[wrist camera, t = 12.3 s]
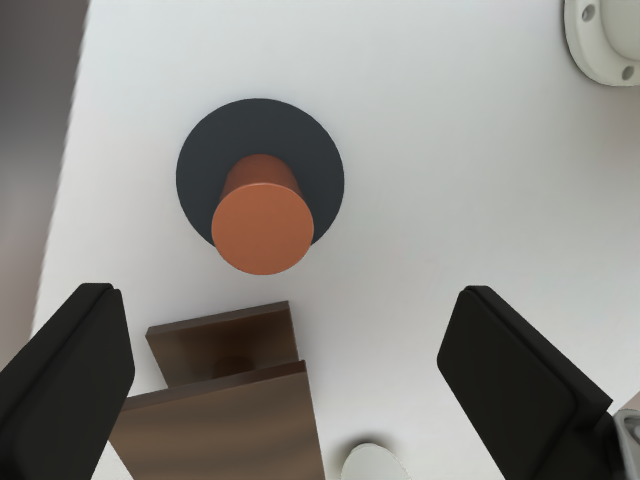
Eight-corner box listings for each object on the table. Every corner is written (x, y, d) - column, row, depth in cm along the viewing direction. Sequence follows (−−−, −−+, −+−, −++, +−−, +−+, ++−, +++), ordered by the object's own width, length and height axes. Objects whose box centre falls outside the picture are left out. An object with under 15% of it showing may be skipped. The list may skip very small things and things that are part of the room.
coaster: (170, 88, 19) (168, 88, 18) (352, 107, 21) (355, 108, 20) (184, 256, 23) (182, 260, 23) (332, 257, 26) (334, 261, 25)
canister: (223, 150, 20) (209, 179, 14) (300, 156, 21) (318, 185, 15) (225, 222, 22) (213, 275, 16) (295, 224, 23) (309, 275, 17)
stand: (139, 323, 25) (93, 418, 18) (293, 294, 26) (306, 371, 19) (184, 422, 30) (162, 526, 23) (310, 394, 32) (326, 483, 25)
